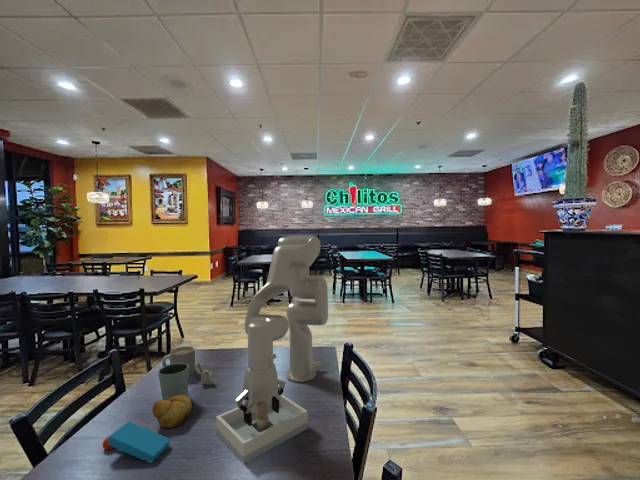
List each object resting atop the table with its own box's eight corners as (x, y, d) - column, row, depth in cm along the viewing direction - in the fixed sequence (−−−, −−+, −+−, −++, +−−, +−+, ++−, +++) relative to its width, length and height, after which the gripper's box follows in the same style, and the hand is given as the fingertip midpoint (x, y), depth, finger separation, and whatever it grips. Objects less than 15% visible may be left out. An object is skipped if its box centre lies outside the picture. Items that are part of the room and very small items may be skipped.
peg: (264, 426, 99) (263, 395, 99) (270, 431, 97) (270, 399, 96) (254, 431, 97) (253, 399, 97) (260, 436, 94) (260, 403, 94)
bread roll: (178, 406, 112) (178, 384, 112) (201, 410, 109) (201, 387, 109) (149, 428, 100) (148, 403, 100) (174, 433, 97) (173, 407, 97)
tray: (276, 406, 111) (276, 391, 110) (307, 428, 98) (307, 411, 98) (216, 434, 96) (216, 416, 96) (243, 464, 83) (243, 443, 83)
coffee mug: (199, 367, 144) (198, 346, 143) (189, 377, 134) (188, 354, 134) (170, 367, 144) (169, 346, 144) (158, 377, 134) (157, 354, 134)
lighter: (212, 382, 129) (211, 363, 129) (209, 384, 127) (209, 365, 127) (197, 381, 131) (196, 362, 130) (194, 383, 129) (193, 363, 129)
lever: (165, 461, 92) (113, 438, 95) (170, 439, 91) (118, 416, 94) (148, 479, 85) (93, 454, 88) (153, 455, 84) (98, 431, 87)
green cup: (194, 399, 116) (193, 367, 116) (166, 411, 109) (164, 377, 108) (182, 390, 123) (181, 360, 123) (155, 401, 116) (153, 368, 115)
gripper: (277, 351, 105) (278, 402, 105) (228, 367, 93) (230, 423, 94) (291, 357, 99) (292, 411, 100) (241, 375, 88) (242, 435, 88)
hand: (262, 417), depth 97 cm, fingers open, 9 cm apart
